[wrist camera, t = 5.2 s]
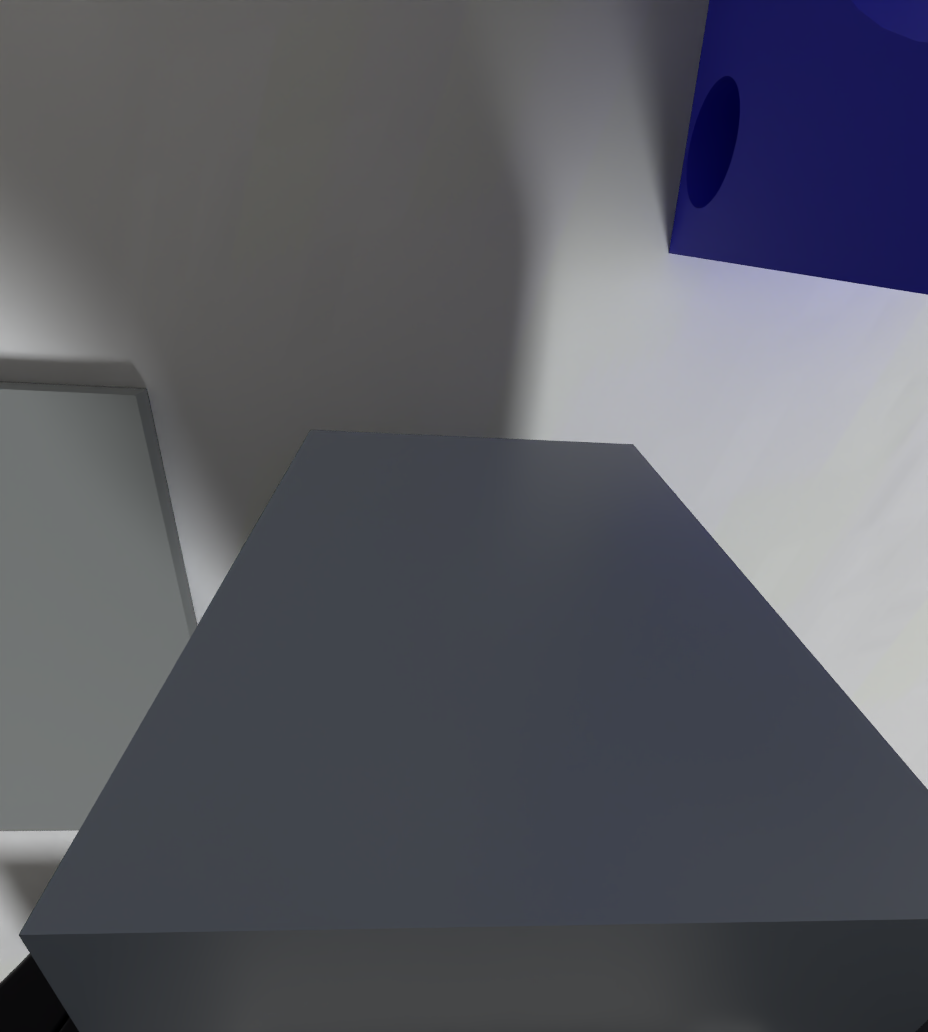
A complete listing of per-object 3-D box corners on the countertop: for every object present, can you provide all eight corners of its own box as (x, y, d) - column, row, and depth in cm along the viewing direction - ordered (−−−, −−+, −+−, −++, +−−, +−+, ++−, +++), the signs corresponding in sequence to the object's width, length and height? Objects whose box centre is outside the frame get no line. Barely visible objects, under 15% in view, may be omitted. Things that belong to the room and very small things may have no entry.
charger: (339, 829, 12) (258, 1346, 6) (310, 429, 8) (-8, 979, 2) (546, 828, 12) (635, 1320, 7) (633, 444, 8) (1067, 954, 2)
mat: (-30, 816, 15) (-41, 831, 14) (-293, 367, 9) (-323, 374, 9) (237, 815, 15) (233, 829, 15) (146, 388, 10) (136, 395, 9)
